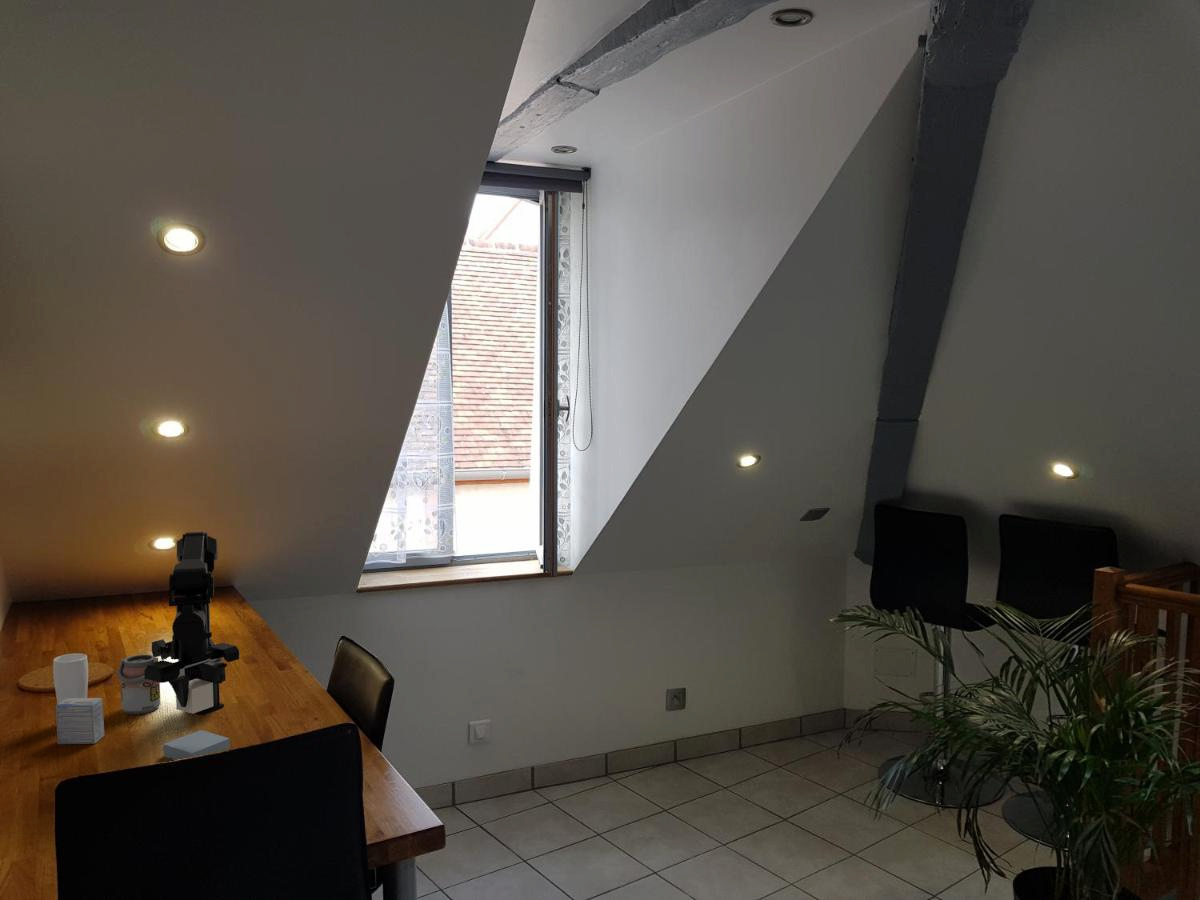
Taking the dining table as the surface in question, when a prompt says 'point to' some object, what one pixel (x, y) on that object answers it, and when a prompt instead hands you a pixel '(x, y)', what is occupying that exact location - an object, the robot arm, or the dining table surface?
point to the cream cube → (198, 696)
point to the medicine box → (80, 721)
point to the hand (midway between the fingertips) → (194, 702)
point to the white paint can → (138, 685)
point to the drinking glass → (70, 676)
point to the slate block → (195, 745)
